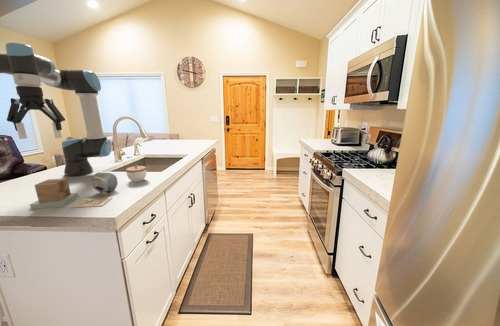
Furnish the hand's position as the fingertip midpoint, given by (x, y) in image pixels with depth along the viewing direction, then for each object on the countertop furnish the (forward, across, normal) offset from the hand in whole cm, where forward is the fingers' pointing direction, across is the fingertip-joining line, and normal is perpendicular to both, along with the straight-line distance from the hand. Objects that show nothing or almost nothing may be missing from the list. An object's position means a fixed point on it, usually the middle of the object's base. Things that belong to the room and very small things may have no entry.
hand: (41, 138), depth 93 cm
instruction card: (+30, +17, -3) cm, 34 cm away
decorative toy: (+30, +17, +8) cm, 35 cm away
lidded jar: (+30, +26, +28) cm, 48 cm away
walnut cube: (+28, 0, 0) cm, 28 cm away
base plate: (+30, 0, 0) cm, 30 cm away
